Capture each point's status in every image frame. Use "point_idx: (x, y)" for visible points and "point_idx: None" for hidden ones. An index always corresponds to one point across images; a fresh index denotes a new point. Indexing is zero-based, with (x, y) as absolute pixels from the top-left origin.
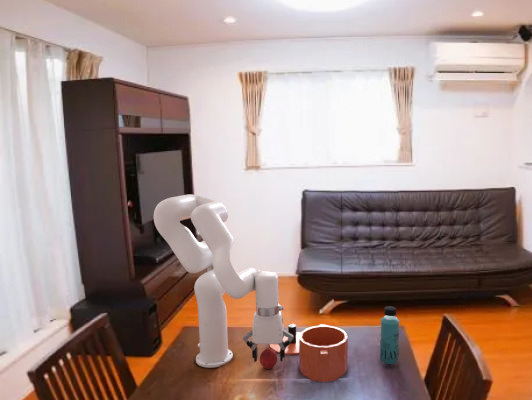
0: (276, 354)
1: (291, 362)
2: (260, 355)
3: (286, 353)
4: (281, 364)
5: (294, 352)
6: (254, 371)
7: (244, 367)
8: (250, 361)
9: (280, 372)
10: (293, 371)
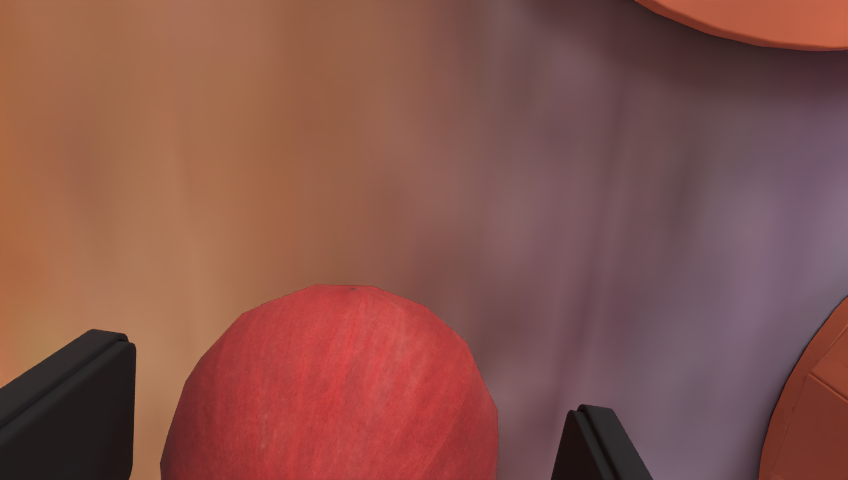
0: (492, 464)
1: (701, 236)
2: (163, 465)
3: (689, 22)
4: (548, 265)
5: (842, 23)
6: (177, 374)
7: (27, 253)
8: (88, 95)
9: (509, 451)
10: (675, 458)
